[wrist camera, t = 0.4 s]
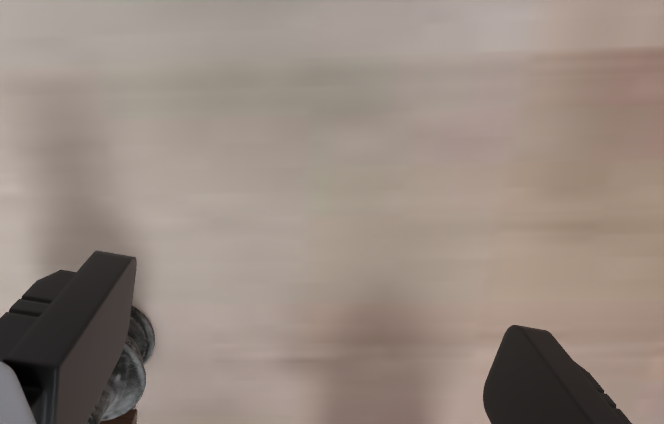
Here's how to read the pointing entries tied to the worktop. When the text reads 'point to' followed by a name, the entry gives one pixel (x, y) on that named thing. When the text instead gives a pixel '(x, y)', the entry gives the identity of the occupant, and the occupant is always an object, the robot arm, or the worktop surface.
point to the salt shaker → (126, 372)
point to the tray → (123, 418)
